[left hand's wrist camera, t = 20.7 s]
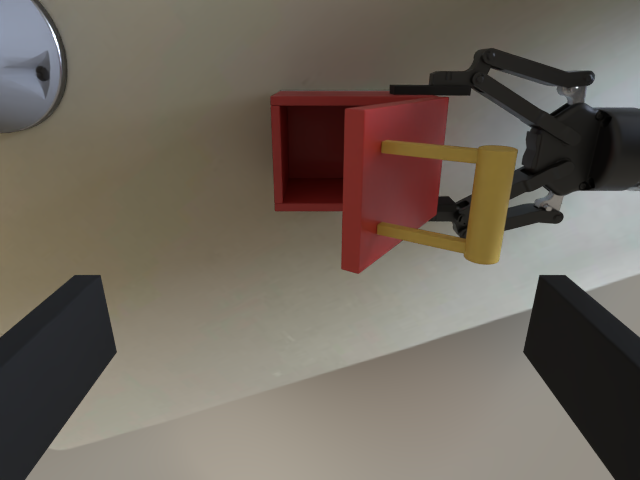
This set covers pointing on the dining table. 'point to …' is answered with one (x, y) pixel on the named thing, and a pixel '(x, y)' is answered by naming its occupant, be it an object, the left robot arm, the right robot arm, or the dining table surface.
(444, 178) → the dining table surface
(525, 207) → the right robot arm
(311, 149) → the red box
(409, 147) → the lid
